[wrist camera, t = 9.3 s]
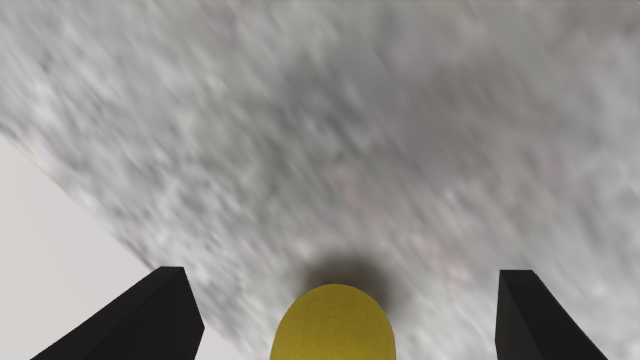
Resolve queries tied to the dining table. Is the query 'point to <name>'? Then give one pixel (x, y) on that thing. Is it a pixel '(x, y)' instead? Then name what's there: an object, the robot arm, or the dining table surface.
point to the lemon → (334, 327)
